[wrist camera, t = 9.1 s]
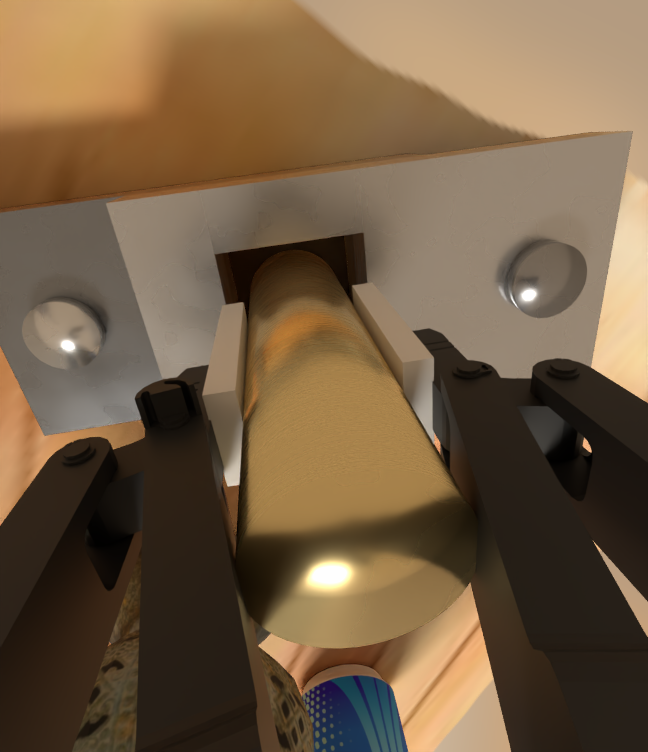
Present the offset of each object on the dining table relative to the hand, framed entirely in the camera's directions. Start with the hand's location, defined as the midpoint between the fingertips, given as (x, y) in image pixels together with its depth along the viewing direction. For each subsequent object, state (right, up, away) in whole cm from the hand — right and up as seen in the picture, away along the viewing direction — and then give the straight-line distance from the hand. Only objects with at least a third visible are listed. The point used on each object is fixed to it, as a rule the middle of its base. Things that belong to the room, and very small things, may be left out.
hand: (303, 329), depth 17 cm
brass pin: (-1, +2, +4) cm, 4 cm away
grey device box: (-1, +3, +6) cm, 7 cm away
